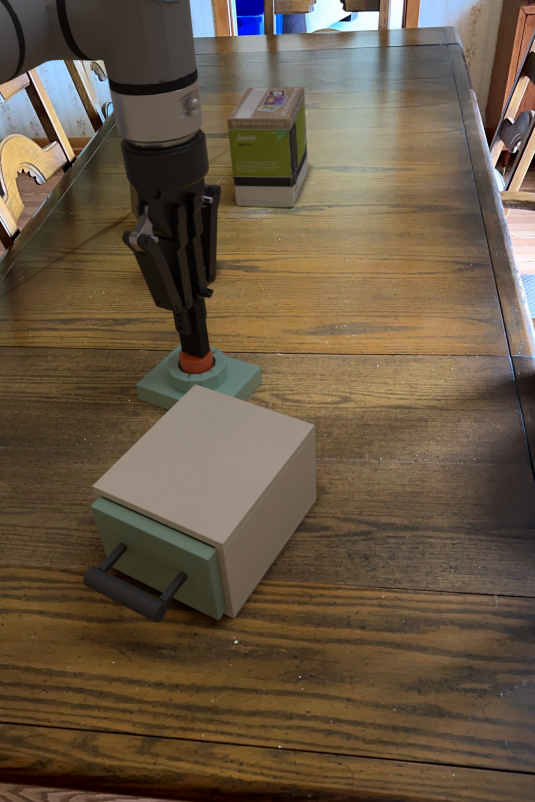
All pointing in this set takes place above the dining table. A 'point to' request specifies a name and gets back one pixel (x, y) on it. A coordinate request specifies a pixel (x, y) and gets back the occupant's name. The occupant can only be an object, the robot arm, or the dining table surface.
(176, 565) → the drawer
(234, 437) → the grey box-shaped casing
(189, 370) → the button
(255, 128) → the tea box
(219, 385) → the panel
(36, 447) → the dining table surface
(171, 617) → the dining table surface
